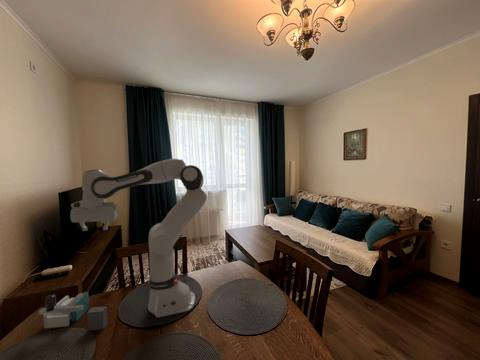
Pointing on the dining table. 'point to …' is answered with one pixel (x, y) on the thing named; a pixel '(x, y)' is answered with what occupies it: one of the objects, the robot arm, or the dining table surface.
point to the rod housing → (97, 318)
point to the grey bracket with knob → (67, 306)
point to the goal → (56, 318)
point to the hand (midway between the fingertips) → (95, 230)
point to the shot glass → (65, 305)
